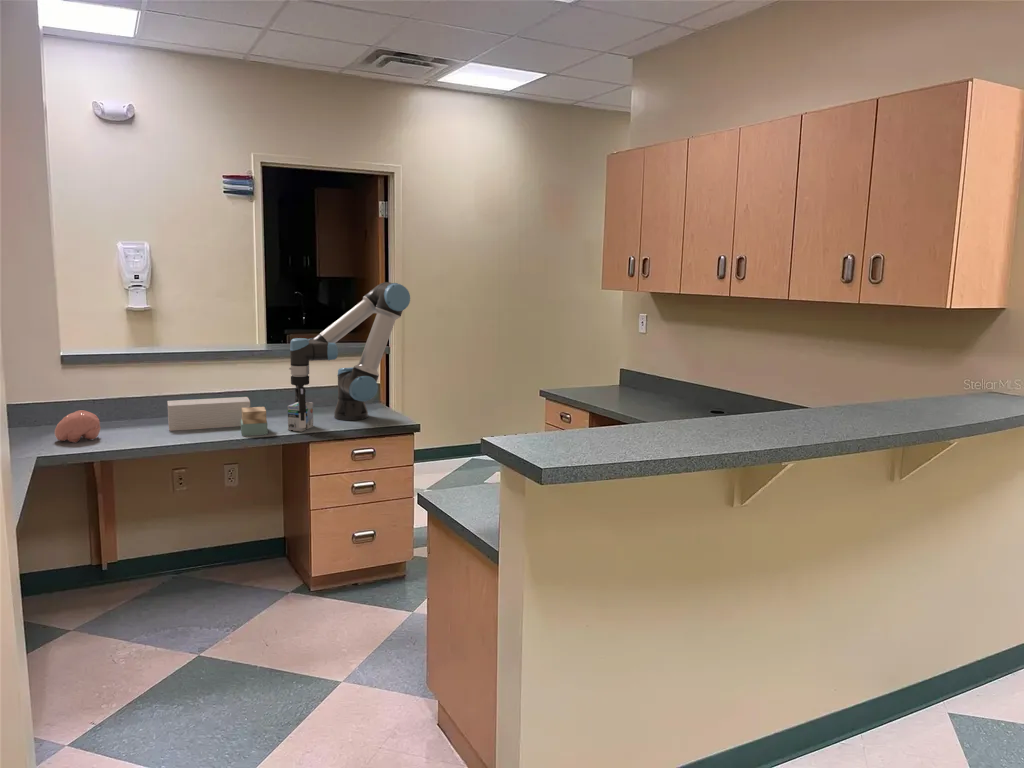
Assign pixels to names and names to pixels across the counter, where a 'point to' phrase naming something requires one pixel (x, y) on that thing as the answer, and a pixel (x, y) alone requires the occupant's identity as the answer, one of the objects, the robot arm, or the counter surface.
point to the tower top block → (253, 415)
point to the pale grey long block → (206, 413)
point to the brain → (78, 426)
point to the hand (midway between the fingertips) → (300, 424)
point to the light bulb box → (294, 416)
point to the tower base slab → (254, 429)
